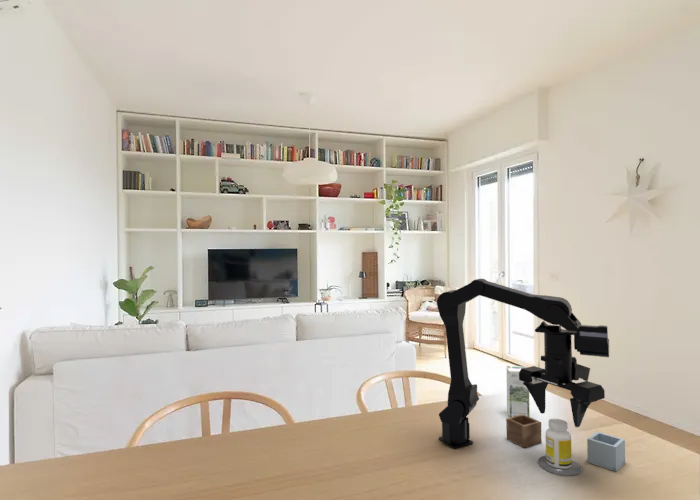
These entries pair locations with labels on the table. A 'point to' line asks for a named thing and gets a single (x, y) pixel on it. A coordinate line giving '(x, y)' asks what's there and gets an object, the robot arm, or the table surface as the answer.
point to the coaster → (571, 471)
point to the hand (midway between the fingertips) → (559, 419)
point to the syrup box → (516, 393)
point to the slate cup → (606, 451)
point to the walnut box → (523, 430)
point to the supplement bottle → (558, 444)
